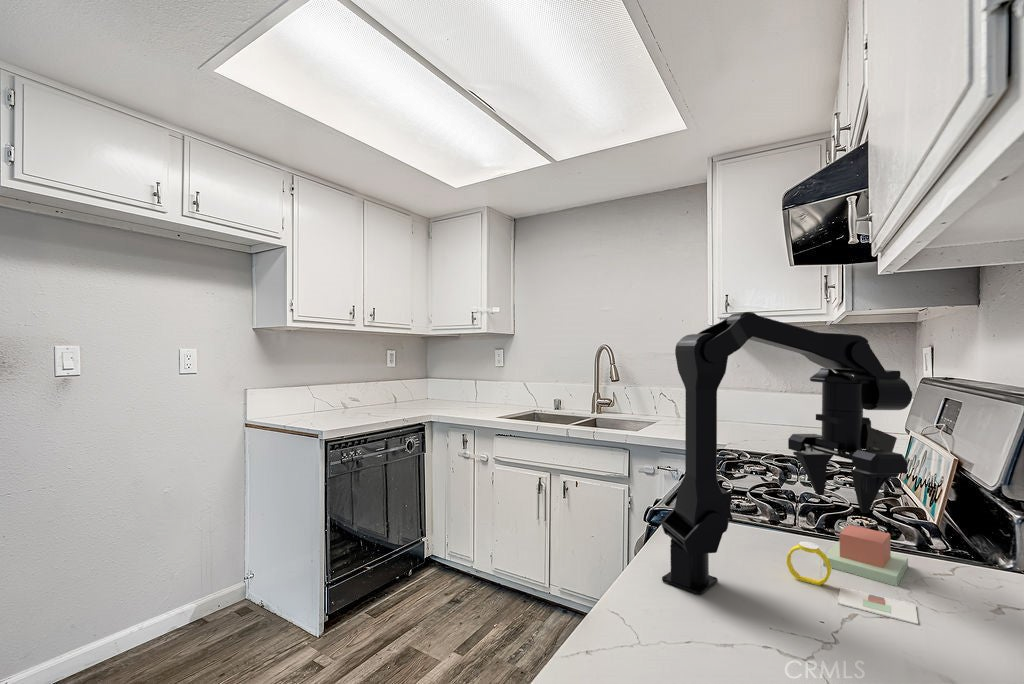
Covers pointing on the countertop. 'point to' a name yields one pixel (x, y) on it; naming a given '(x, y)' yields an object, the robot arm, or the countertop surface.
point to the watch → (812, 549)
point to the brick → (865, 545)
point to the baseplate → (869, 567)
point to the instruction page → (878, 605)
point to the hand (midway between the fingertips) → (841, 503)
